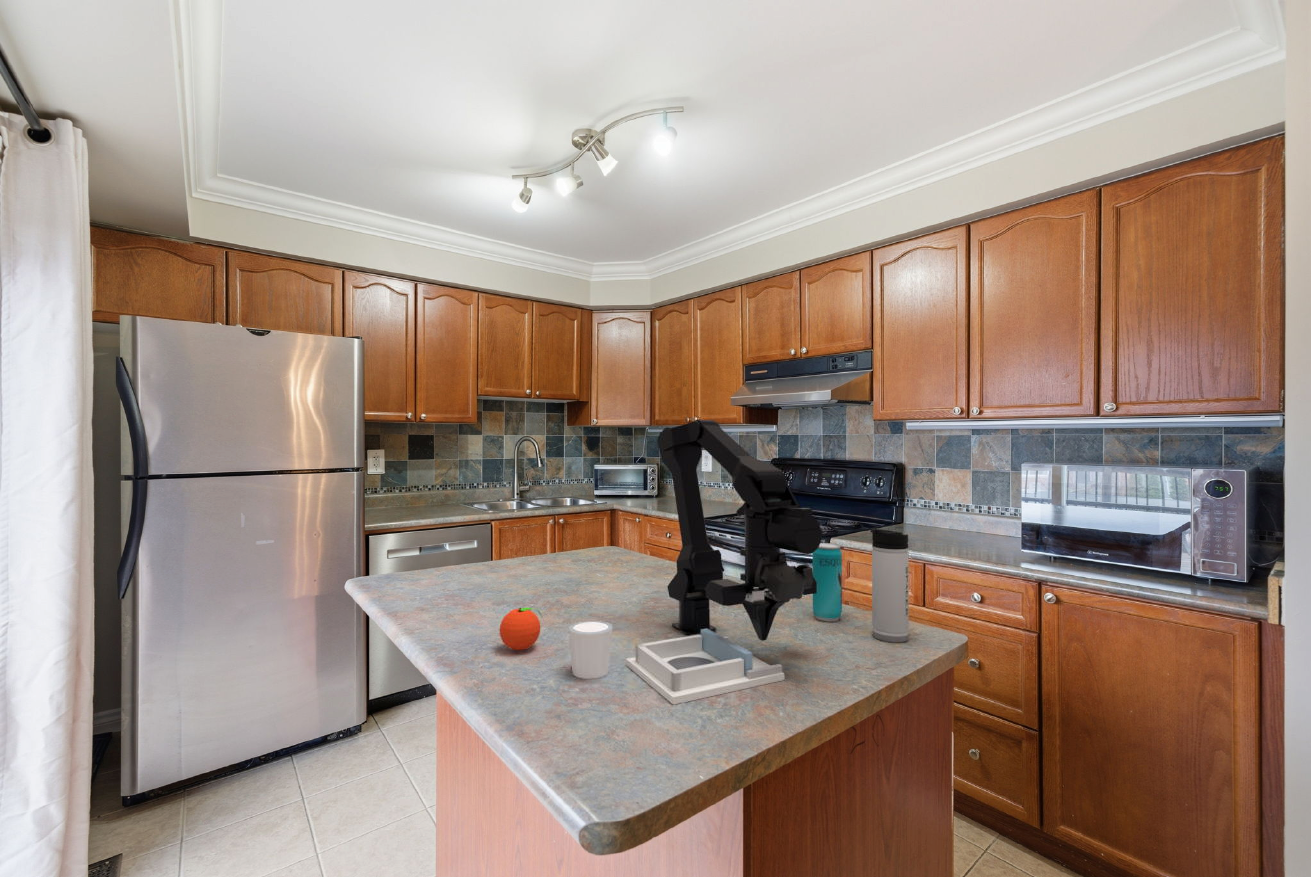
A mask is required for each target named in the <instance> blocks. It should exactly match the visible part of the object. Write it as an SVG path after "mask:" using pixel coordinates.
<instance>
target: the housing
mask: <svg viewBox="0 0 1311 877" xmlns="http://www.w3.org/2000/svg"><path fill="white" fill-rule="evenodd" d="M723 637H724V638H725V639H727V640H729V641H730V637H728V636H726V635H725V636H723ZM625 666H627V668H629V669H630V670H631V671H632V672H634V673H635V674H636V675H637V676H638V677H640V678H641V680H643V681H644V682H646V683H647V684H648V685H649V686H650V687H651V688H653V690H655V691H656V692H657V693H658V694H659V695H661V696H662V697H663V698H664V699H665V700H667V702H669V703H671V704H672V705H677V704H683V703H686V702H691V701H696V700H701V699H705V698H710V697H713V696H718V695H722V694H727V693H732V692H737V691H742V690H745V689H750V688H754V687H759V686H763V685H764V686H765V685H768V684H772V683H776V682H777V683H778V682H781V681H782V682H783V681H785V672H783V665H781V664H779V663H776V664H773V665H772V664H771V665H770V664H768V663H767V662H764V661H763V660H761V659H759V658H757V657H755V656H754V655H753V669H752V670H747V671H746V676H745V675H744V660H743V659H741V658H737V659H732V660H727V661H720V660H719V659H717V658H715V657H714V656H712V655H711V654H709V653H707V652H706V651H704V650H702V636H701V634H694V635H686V636H683V637H676V638H671V639H670V638H669V639H663V640H657V641H650V642H645V643H639V644H635V656H634V657H627V658H625Z"/></svg>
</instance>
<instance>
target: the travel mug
mask: <svg viewBox="0 0 1311 877" xmlns="http://www.w3.org/2000/svg"><path fill="white" fill-rule="evenodd" d="M870 533H872V537H871V539H872V540H871V541H872V542H871V543H872V544H871V548H872V550H871V579H872V581H871V590H872V591H871V603H872V604H871V608H872V610H871V611H872V612H871V618H872V622H871V623H872V624H871V626H872V628H871V631H872V637H874V638H875V639H877V640H879V641H881V642H886V643H893V644H894V643H895V644H897V643H899V644H900V643H905V642H907V641H908V640H909V639H910V632H909V629H910V626H909V625H910V622H909V621H910V616H909V614H910V610H909V609H910V607H909V606H910V605H909V604H910V601H909V600H910V599H909V598H910V596H909V592H910V591H909V590H910V588H909V587H910V585H909V581H910V579H909V571H910V570H909V557H910V556H909V535H908V534H903V533H902V532H899V531H894V530H889V529H888V530H887V529H878V528H875V527H872V528H870Z"/></svg>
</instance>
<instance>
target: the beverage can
mask: <svg viewBox="0 0 1311 877" xmlns="http://www.w3.org/2000/svg"><path fill="white" fill-rule="evenodd" d="M841 550H842V549H841V545H840V544H837V543H832V542H831V543H830V542H829V543H828V542H821V543H820V545H819V547H818V548H817V550H816V551H815V552H813V553H812V571H813V577H814V578H815V580H816V582H817V593H816V594H812V612H813V614H814V617H815V618H816V620H817V621H821V622H826V623H827V622H828V623H830V622H831V623H834V622H837V621H839V620H840V619H841V615H842V613H843V553H842V551H841Z"/></svg>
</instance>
